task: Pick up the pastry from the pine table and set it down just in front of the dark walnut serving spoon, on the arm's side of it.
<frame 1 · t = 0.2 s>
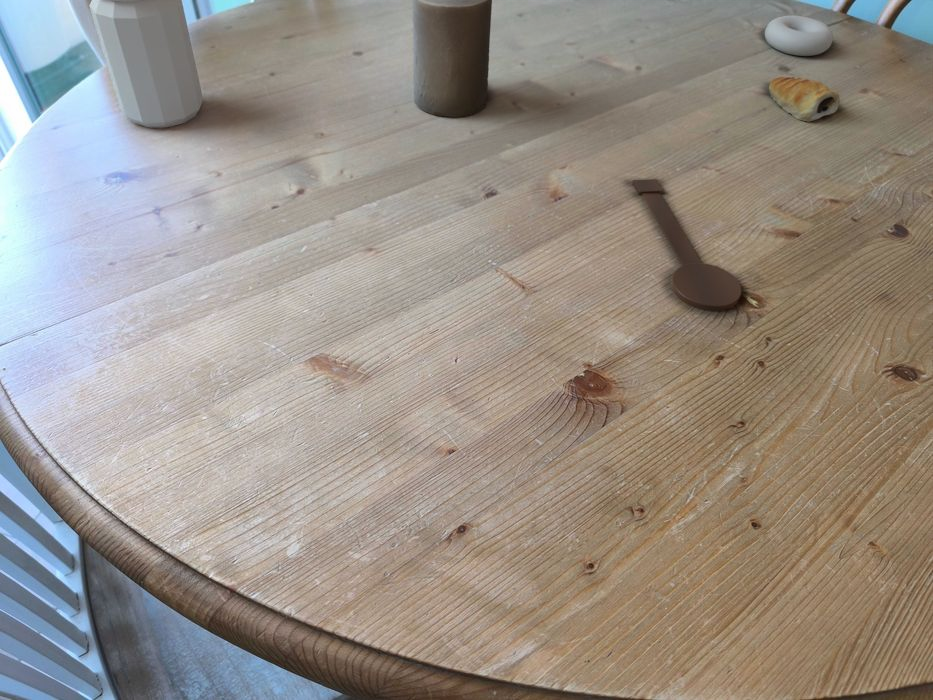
jar: (164, 113, 93), on the table
pastry: (798, 109, 101), on the table
donut: (794, 47, 117), on the table
pillar candle: (449, 102, 99), on the table
spoon: (680, 258, 76), on the table
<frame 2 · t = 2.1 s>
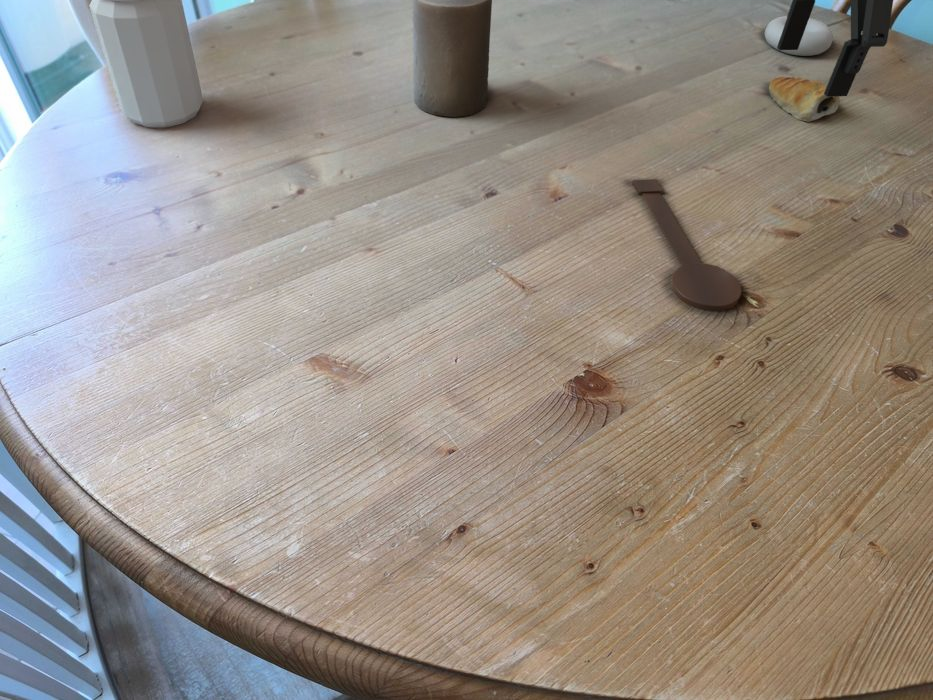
hand: (809, 71, 98), 5 cm above the table, tool pointing down, fingers open, 13 cm apart
nothing on the table moved.
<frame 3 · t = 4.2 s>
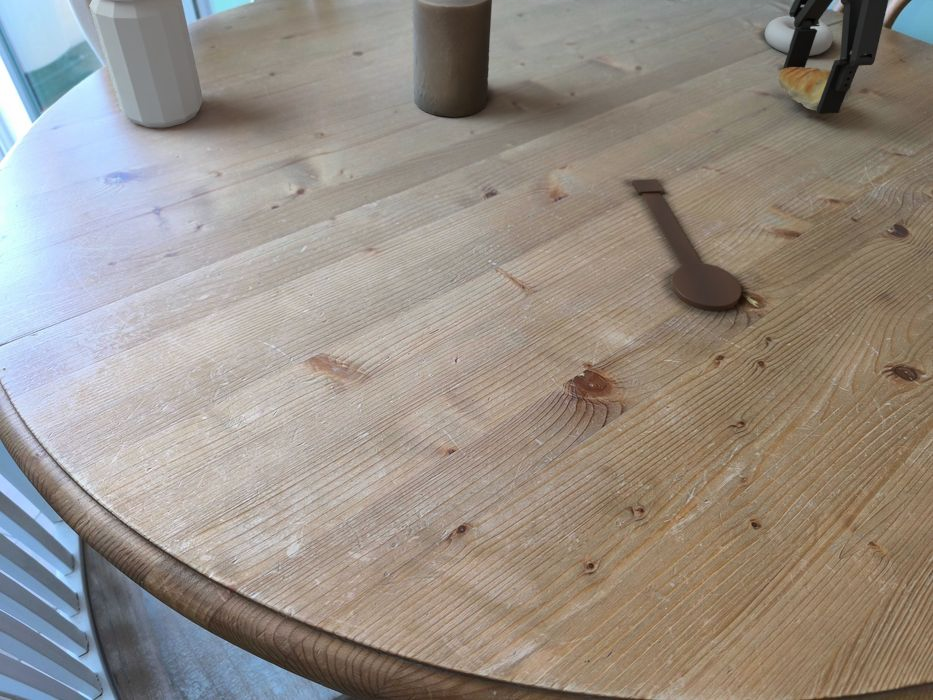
hand: (808, 94, 99), 2 cm above the table, tool pointing down, fingers closed on pastry, 10 cm apart
pastry: (809, 99, 99), point 2 cm above the table, touching gripper
everything else where it was.
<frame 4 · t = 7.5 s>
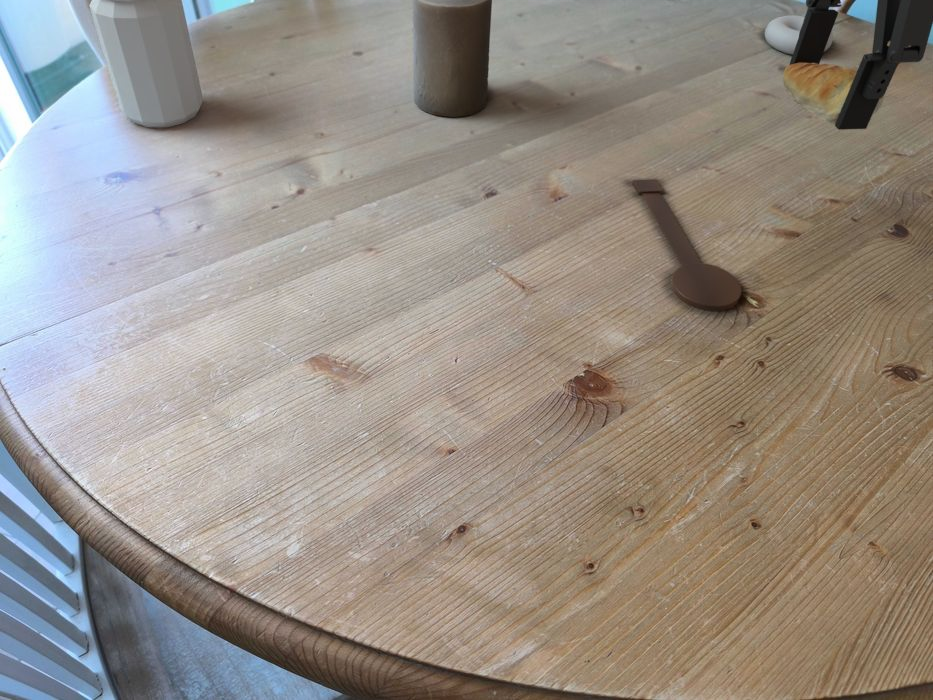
hand: (823, 101, 72), 14 cm above the table, tool pointing down, fingers closed on pastry, 10 cm apart
pastry: (824, 107, 72), point 13 cm above the table, touching gripper
everything else where it was.
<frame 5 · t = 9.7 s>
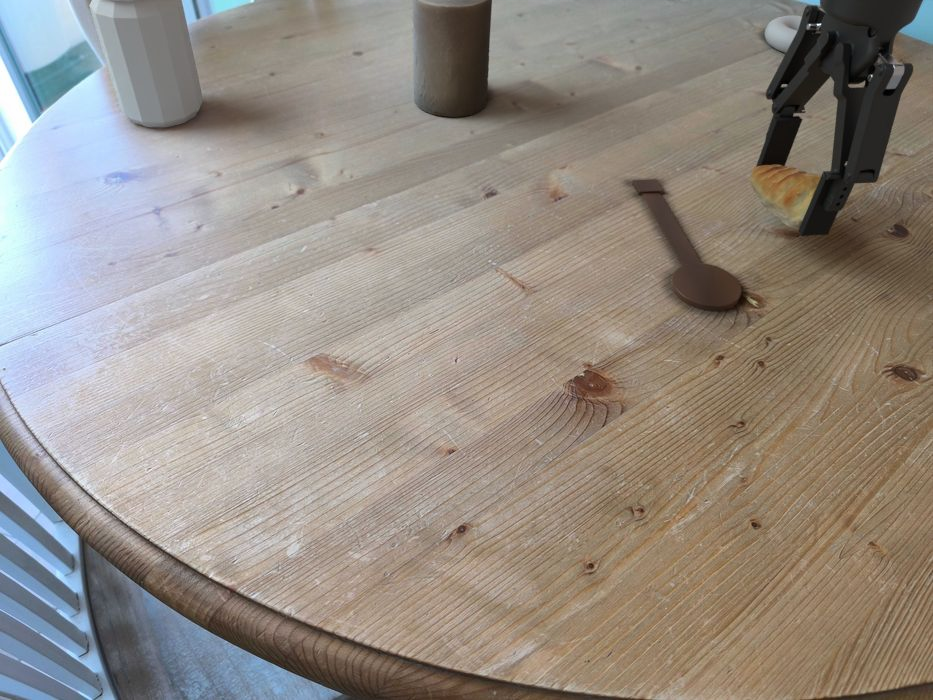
hand: (788, 202, 75), 5 cm above the table, tool pointing down, fingers closed on pastry, 10 cm apart
pastry: (790, 209, 75), point 4 cm above the table, touching gripper
everything else where it was.
when the fingers open (0 cm above the table, at t = 11.1 s): pastry stays where it is, on the table.
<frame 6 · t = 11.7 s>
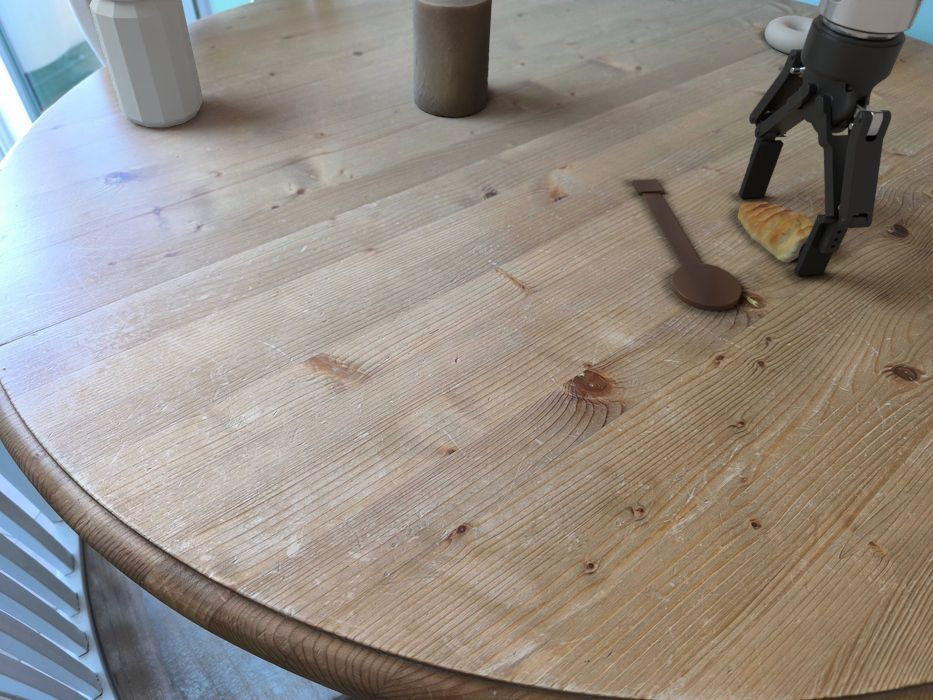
hand: (777, 232, 78), 1 cm above the table, tool pointing down, fingers open, 13 cm apart
pastry: (776, 245, 78), on the table
everything else where it was.
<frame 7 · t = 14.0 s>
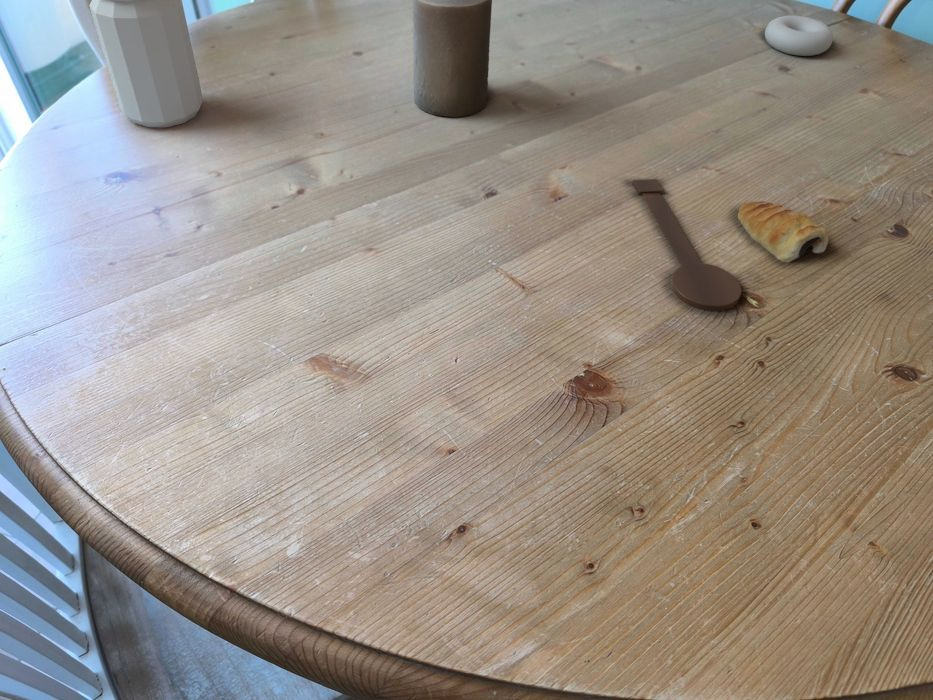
nothing on the table moved.
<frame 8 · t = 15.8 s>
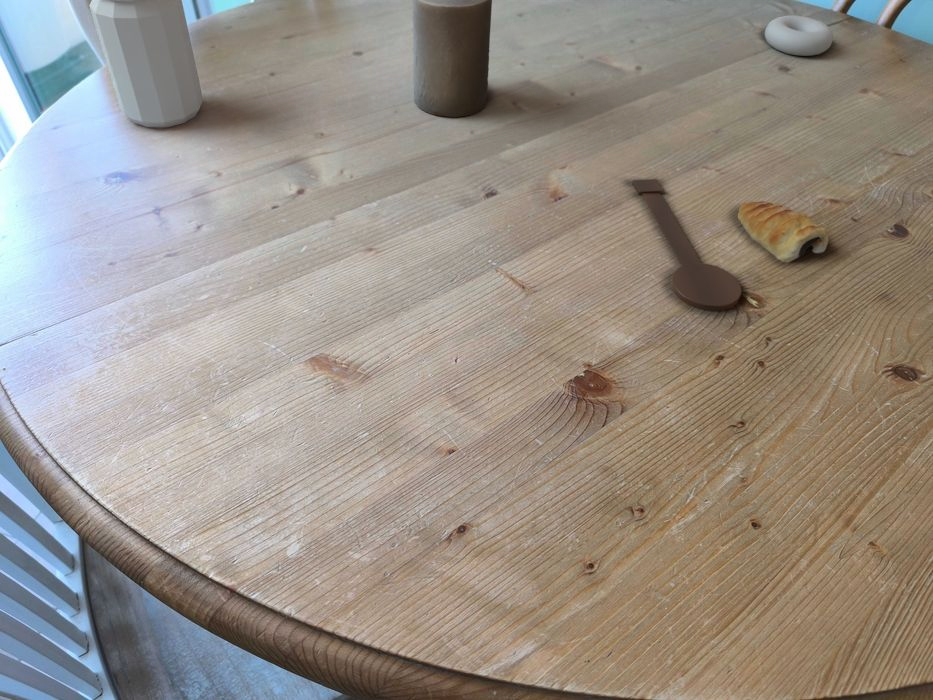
nothing on the table moved.
at the end: pastry inside the target area on the table beside the spoon (0.6 cm from its centre), on the table; the gripper is holding nothing; pastry moved 34.0 cm from its start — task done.
